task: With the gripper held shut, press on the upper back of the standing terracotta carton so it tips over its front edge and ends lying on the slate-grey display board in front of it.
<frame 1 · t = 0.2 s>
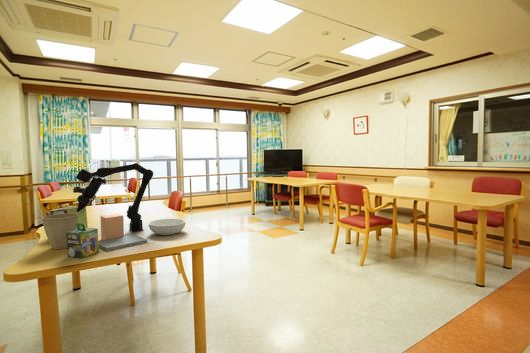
hand: (79, 210, 166), 14 cm above the table, tool tilted 30°, fingers open, 9 cm apart
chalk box: (83, 254, 132), on the table
serving bowl: (167, 233, 171), on the table
plant pot: (61, 247, 144), on the table
display board: (121, 243, 150), on the table
terracotta carton: (112, 238, 158), on the table
protein box: (71, 233, 169), on the table
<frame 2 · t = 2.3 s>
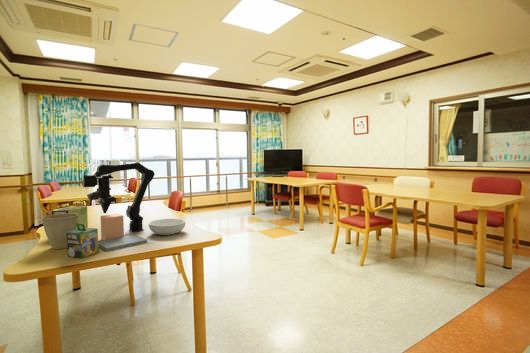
hand: (104, 213, 165), 13 cm above the table, tool pointing down, fingers closed
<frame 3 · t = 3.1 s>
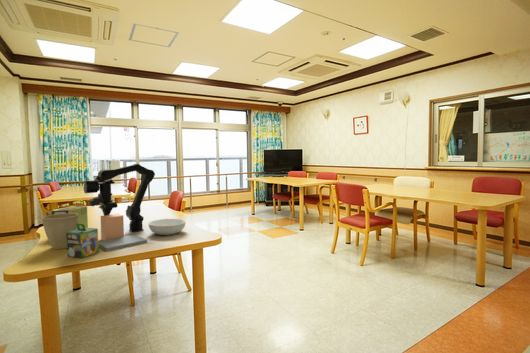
hand: (106, 218, 164), 10 cm above the table, tool pointing down, fingers closed
nothing on the table moved.
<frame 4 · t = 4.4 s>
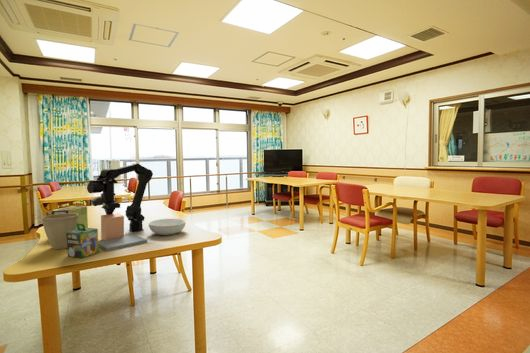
hand: (108, 219, 161), 10 cm above the table, tool pointing down, fingers closed
terracotta carton: (112, 238, 158), on the table, touching gripper
everything else where it was.
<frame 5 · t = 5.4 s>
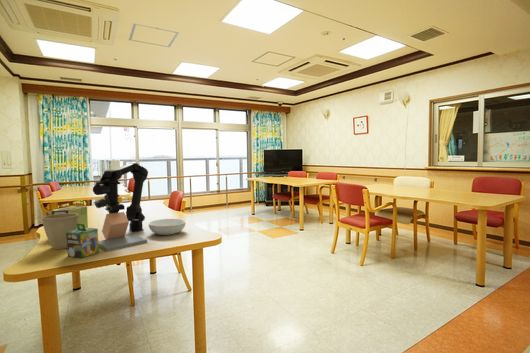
hand: (112, 221, 157), 10 cm above the table, tool pointing down, fingers closed
terracotta carton: (113, 234, 158), point 2 cm above the table, tilted 36°, touching display board, gripper
everything else where it was.
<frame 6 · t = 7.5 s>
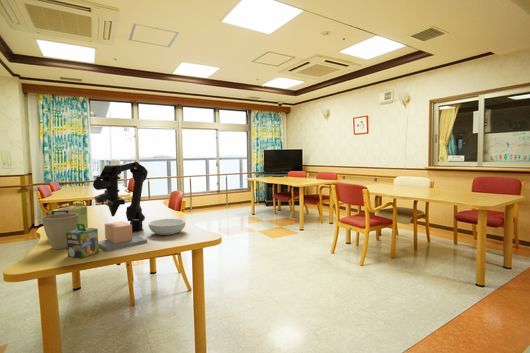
hand: (113, 216, 157), 13 cm above the table, tool pointing down, fingers closed
terracotta carton: (113, 229, 157), point 5 cm above the table, tilted 90°, touching display board
everything else where it was.
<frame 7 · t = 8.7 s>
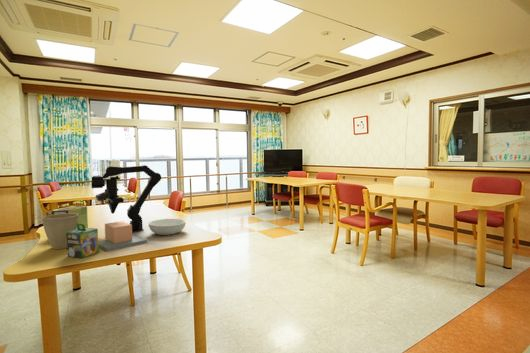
hand: (112, 213, 170), 12 cm above the table, tool pointing down, fingers closed
nothing on the table moved.
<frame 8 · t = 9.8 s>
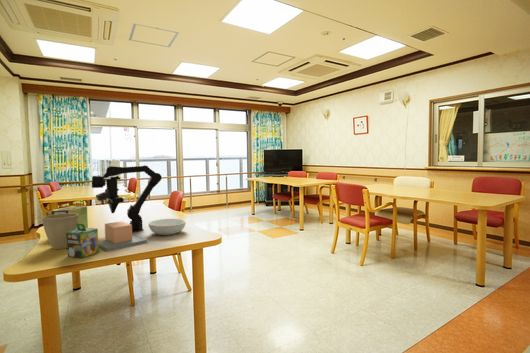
hand: (112, 213, 170), 12 cm above the table, tool pointing down, fingers closed
nothing on the table moved.
at the end: terracotta carton tilted 90°; terracotta carton touching display board; terracotta carton inside the target area on the display board (5.3 cm from its centre), point 5.5 cm above the display board's base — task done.
